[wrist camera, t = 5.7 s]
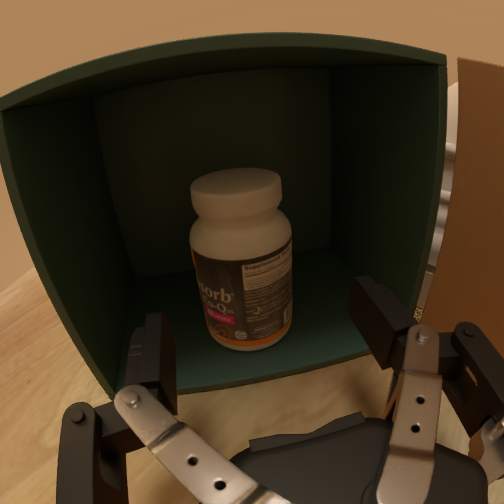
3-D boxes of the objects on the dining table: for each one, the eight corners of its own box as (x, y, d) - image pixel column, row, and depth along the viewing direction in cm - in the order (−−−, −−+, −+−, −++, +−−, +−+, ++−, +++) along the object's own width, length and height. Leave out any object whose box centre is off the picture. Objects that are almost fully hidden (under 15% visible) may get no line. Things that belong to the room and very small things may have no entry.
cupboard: (405, 341, 18) (446, 54, 10) (110, 400, 16) (-12, 102, 7) (333, 248, 29) (332, 61, 21) (132, 282, 27) (86, 92, 18)
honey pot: (515, 272, 22) (548, 91, 13) (474, 343, 17) (535, 65, 8) (420, 226, 32) (430, 67, 23) (350, 267, 26) (353, 48, 17)
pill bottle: (193, 322, 21) (161, 184, 16) (256, 287, 24) (244, 160, 19) (242, 370, 17) (216, 209, 12) (310, 323, 20) (313, 175, 15)
